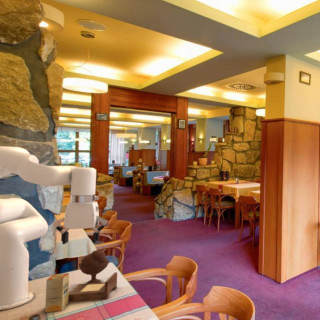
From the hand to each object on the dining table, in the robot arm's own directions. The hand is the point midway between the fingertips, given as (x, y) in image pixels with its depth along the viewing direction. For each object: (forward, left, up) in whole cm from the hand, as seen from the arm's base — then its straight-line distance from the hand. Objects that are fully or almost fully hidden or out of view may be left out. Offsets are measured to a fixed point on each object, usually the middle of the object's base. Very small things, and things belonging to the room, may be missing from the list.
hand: (80, 242), depth 111 cm
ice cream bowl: (-3, +19, -24) cm, 31 cm away
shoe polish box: (-6, -2, -24) cm, 25 cm away
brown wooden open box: (+2, +7, -24) cm, 25 cm away
